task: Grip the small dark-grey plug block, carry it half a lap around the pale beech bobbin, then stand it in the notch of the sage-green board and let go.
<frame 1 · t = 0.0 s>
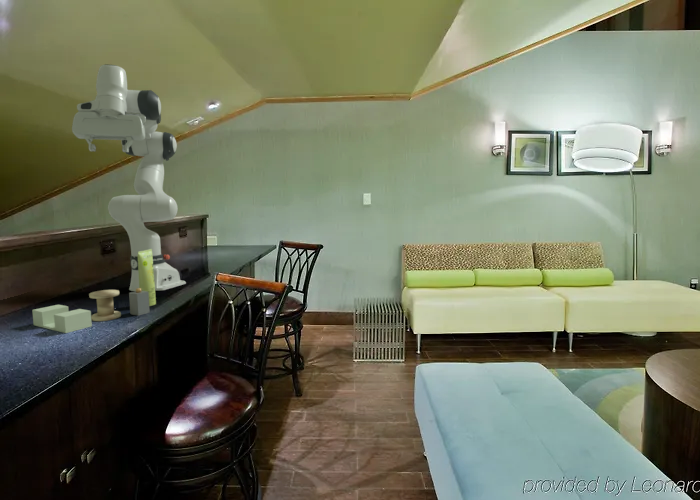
hand: (108, 151, 126), 52 cm above the counter, tool tilted 20°, fingers open, 8 cm apart
notch board: (62, 325, 117), on the counter
bobbin: (106, 317, 125), on the counter
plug: (140, 313, 130), on the counter
tube: (147, 305, 141), on the counter
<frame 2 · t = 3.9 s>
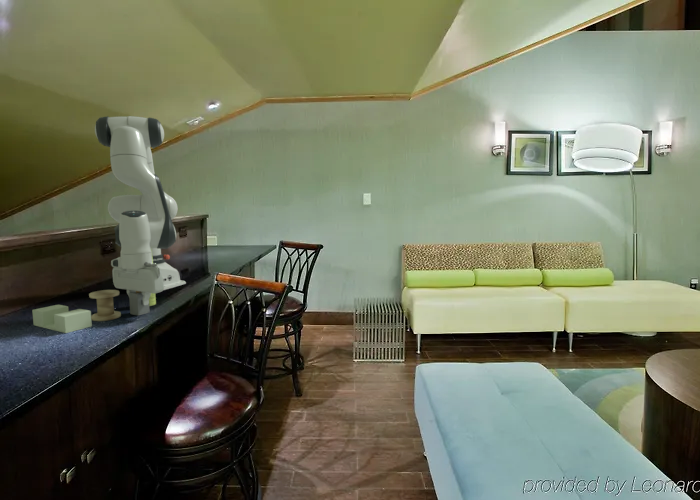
hand: (139, 303, 130), 3 cm above the counter, tool pointing down, fingers closed on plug, 4 cm apart
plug: (140, 313, 130), on the counter, touching gripper
everything else where it was.
when the fingers open (5 cm above the counter, at t = 11.3 s): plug stays where it is, resting on notch board.
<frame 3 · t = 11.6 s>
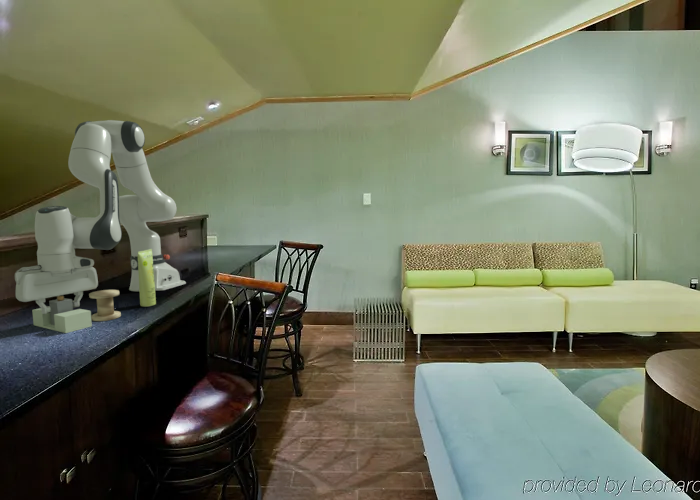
hand: (61, 310, 116), 5 cm above the counter, tool pointing down, fingers open, 6 cm apart
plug: (62, 323, 117), point 1 cm above the counter, touching notch board
everything else where it was.
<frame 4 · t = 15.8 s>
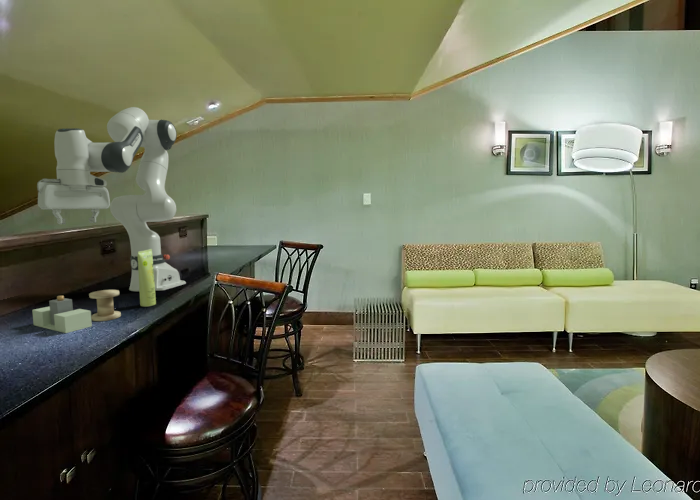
hand: (77, 223, 129), 29 cm above the counter, tool pointing down, fingers open, 8 cm apart
nothing on the counter moved.
at the end: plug 0.1 cm off-centre on the notch board, point 0.6 cm above the notch board's base; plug tilted 0°; the gripper is holding nothing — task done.
